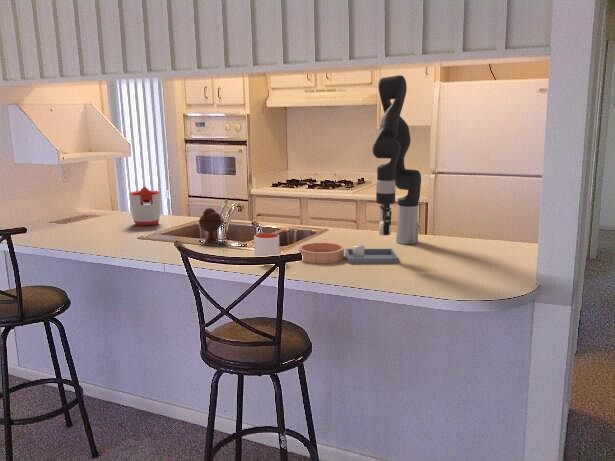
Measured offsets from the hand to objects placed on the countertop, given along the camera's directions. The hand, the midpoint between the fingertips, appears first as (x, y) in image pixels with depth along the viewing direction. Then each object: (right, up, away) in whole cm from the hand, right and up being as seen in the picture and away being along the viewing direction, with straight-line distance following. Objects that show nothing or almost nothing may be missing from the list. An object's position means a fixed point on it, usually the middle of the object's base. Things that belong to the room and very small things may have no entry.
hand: (385, 233), depth 225 cm
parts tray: (-6, -11, +2) cm, 12 cm away
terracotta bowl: (-26, -10, +4) cm, 28 cm away
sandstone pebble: (0, 0, 0) cm, 0 cm away
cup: (-48, -11, +2) cm, 49 cm away
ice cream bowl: (-76, -4, +36) cm, 84 cm away
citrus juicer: (-116, +4, +72) cm, 137 cm away
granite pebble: (-11, -10, +2) cm, 15 cm away
